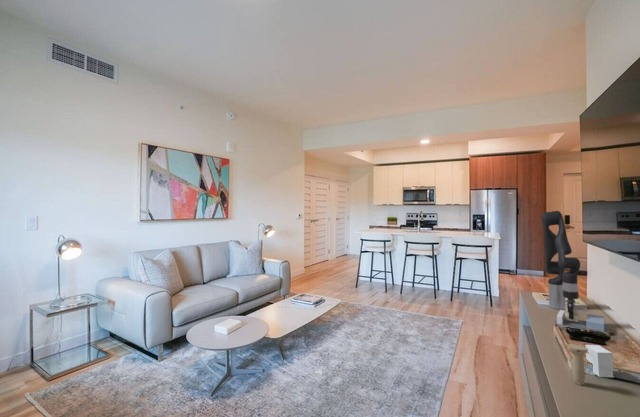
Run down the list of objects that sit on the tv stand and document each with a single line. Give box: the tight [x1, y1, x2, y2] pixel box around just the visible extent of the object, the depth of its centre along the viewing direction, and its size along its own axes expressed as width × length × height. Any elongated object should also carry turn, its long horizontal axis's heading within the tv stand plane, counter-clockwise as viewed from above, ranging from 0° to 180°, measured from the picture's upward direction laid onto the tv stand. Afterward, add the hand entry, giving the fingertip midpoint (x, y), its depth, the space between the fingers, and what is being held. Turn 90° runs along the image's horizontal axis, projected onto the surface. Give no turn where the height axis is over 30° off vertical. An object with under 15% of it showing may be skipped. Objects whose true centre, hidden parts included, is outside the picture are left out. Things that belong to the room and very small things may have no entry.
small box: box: [584, 344, 615, 378], centre depth 132 cm, size 8×6×10 cm
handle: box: [566, 343, 588, 386], centre depth 125 cm, size 5×6×15 cm
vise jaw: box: [585, 313, 606, 332], centre depth 178 cm, size 16×8×4 cm, turn 136°
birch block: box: [564, 304, 579, 322], centre depth 185 cm, size 4×6×8 cm, turn 46°
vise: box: [554, 309, 610, 334], centre depth 182 cm, size 16×24×6 cm, turn 46°
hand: (571, 317), depth 185 cm, fingers closed on birch block, 4 cm apart
